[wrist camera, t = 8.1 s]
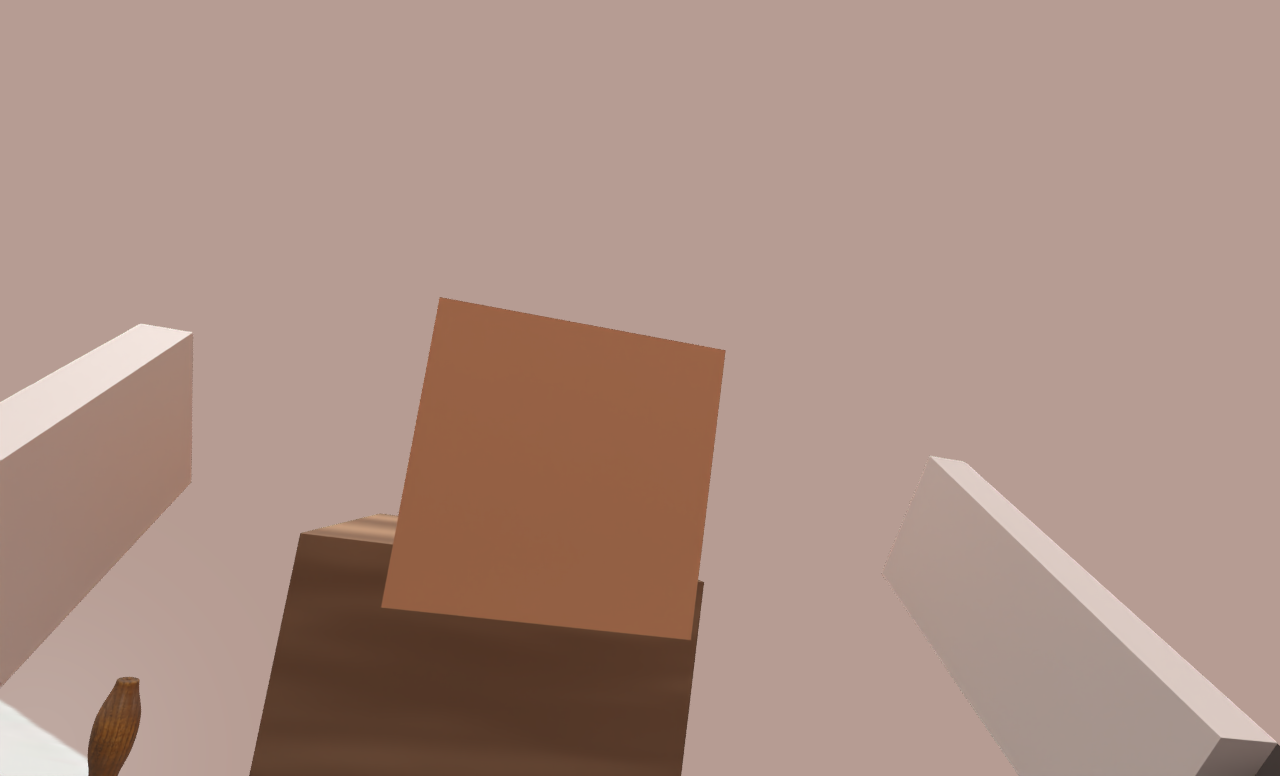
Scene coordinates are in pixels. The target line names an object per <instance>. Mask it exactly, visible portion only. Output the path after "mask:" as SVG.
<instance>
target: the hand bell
mask: <svg viewBox="0 0 1280 776" xmlns="http://www.w3.org/2000/svg"><path fill="white" fill-rule="evenodd" d="M140 717H141V703H140V695H139V679H138V678H134V677H123V678H119V679H118V680H117V681H116V684H115V686H114V688H113V689H112V691H111V693H110V694H109V696H108V697H107V699H106V700H105V702H104V703H103V705H102V707H101V708H100V710H99V712H98V714H97V716H96V719H95V721H94V724H93V728H92V731H91V736H90V741H89V747H88V767H89V776H118V773H119V771H120V769H121V767H122V766H123V764H124V762H125V761H126V759H127V757H128V755H129V753H130V751H131V749H132V746H133V743H134V741H135V738H136V735H137V732H138V728H139V723H140Z"/></svg>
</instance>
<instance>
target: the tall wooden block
mask: <svg viewBox="0 0 1280 776" xmlns="http://www.w3.org/2000/svg"><path fill="white" fill-rule="evenodd" d="M397 521H398V516H395V515H387V514H376V515H372V516H368V517H364V518H360V519H356V520H353V521H348V522H344V523H340V524H336V525H332V526H328V527H323V528H320V529H315V530H312V531H308V532H303V533H301V534H300V538H299V542H298V547H297V552H296V557H295V562H294V566H293V571H292V576H291V580H290V585H289V590H288V595H287V600H286V605H285V609H284V614H283V619H282V623H281V628H280V633H279V637H278V642H277V647H276V652H275V656H274V661H273V666H272V671H271V675H270V680H269V685H268V690H267V695H266V699H265V704H264V709H263V714H262V719H261V723H260V728H259V733H258V737H257V742H256V747H255V751H254V756H253V761H252V766H251V770H250V775H249V776H681V771H682V763H683V755H684V746H685V738H686V729H687V721H688V713H689V704H690V695H691V687H692V679H693V670H694V662H695V653H696V645H697V636H698V628H699V620H700V611H701V603H702V594H703V586H704V582H702V581H700V580H698V584H697V593H696V601H695V609H694V618H693V626H692V634H691V640H685V639H676V638H666V637H657V636H647V635H638V634H628V633H619V632H609V631H600V630H590V629H581V628H571V627H562V626H552V625H543V624H533V623H524V622H514V621H504V620H495V619H485V618H476V617H466V616H457V615H447V614H438V613H428V612H419V611H409V610H400V609H390V608H381V605H382V600H383V595H384V589H385V584H386V579H387V574H388V568H389V563H390V558H391V552H392V547H393V542H394V537H395V531H396V526H397Z"/></svg>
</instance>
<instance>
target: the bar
mask: <svg viewBox="0 0 1280 776" xmlns="http://www.w3.org/2000/svg"><path fill="white" fill-rule="evenodd" d="M724 359H725V350H721V349H715V348H710V347H704V346H699V345H694V344H689V343H683V342H678V341H672V340H667V339H661V338H655V337H651V336H646V335H640V334H635V333H629V332H624V331H619V330H613V329H608V328H603V327H597V326H592V325H586V324H581V323H576V322H570V321H565V320H560V319H554V318H549V317H543V316H538V315H532V314H527V313H522V312H516V311H511V310H506V309H501V308H495V307H489V306H484V305H479V304H474V303H468V302H463V301H458V300H451V299H447V298H441V297H440V299H439V305H438V309H437V315H436V320H435V325H434V331H433V336H432V342H431V346H430V352H429V357H428V363H427V368H426V373H425V378H424V383H423V389H422V394H421V399H420V405H419V410H418V415H417V420H416V426H415V431H414V437H413V442H412V447H411V452H410V458H409V463H408V468H407V473H406V479H405V484H404V489H403V494H402V500H401V505H400V510H399V515H398V521H397V526H396V531H395V537H394V542H393V547H392V552H391V558H390V563H389V568H388V574H387V579H386V584H385V589H384V595H383V600H382V605H381V608H390V609H400V610H409V611H419V612H428V613H438V614H447V615H457V616H466V617H476V618H485V619H495V620H504V621H514V622H524V623H533V624H543V625H552V626H562V627H571V628H581V629H590V630H600V631H609V632H619V633H628V634H638V635H647V636H657V637H666V638H676V639H685V640H691V634H692V626H693V618H694V609H695V601H696V593H697V584H698V576H699V567H700V559H701V551H702V543H703V534H704V526H705V518H706V509H707V501H708V492H709V483H710V475H711V467H712V458H713V451H714V441H715V434H716V426H717V417H718V409H719V400H720V392H721V384H722V375H723V367H724Z"/></svg>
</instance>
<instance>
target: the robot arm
mask: <svg viewBox="0 0 1280 776" xmlns="http://www.w3.org/2000/svg"><path fill="white" fill-rule="evenodd" d="M192 363H193V332H187V331H182V330H176V329H170V328H164V327H158V326H151V325H146V324H139V325H137V326H135V327H134V328H132V329H130V330H128V331H126V332H124V333H123V334H121V335H119V336H117V337H116V338H114V339H112V340H110V341H108V342H107V343H105V344H103V345H101V346H100V347H98V348H96V349H94V350H92V351H91V352H89V353H87V354H85V355H83V356H82V357H80V358H78V359H76V360H75V361H73V362H71V363H69V364H67V365H66V366H64V367H62V368H60V369H59V370H57V371H55V372H53V373H51V374H50V375H48V376H46V377H44V378H42V379H41V380H39V381H37V382H35V383H34V384H32V385H30V386H28V387H26V388H25V389H23V390H21V391H19V392H18V393H16V394H14V395H12V396H10V397H9V398H7V399H5V400H4V401H2V402H0V688H1V687H2V686H3V685H4V683H6V681H7V680H8V679H9V678H10V677H11V676H12V675H13V674H14V673H15V672H16V671H17V670H18V668H19V667H20V666H21V665H22V664H23V663H24V662H25V661H26V660H27V659H28V658H29V656H31V654H32V653H33V652H34V651H35V650H36V649H37V648H38V647H39V646H40V645H41V644H42V643H43V642H44V640H45V639H46V638H47V637H48V636H49V635H50V634H51V633H52V632H53V631H54V630H55V628H56V627H57V626H58V625H59V624H60V623H61V622H62V621H63V620H64V619H65V618H66V616H68V615H69V613H70V612H71V611H72V610H73V609H74V608H75V607H76V606H77V605H78V604H79V603H80V602H81V600H82V599H83V598H84V597H85V596H86V595H87V594H88V593H89V592H90V591H91V590H92V589H93V588H94V586H95V585H96V584H97V583H98V582H99V581H100V580H101V579H102V578H103V577H104V576H105V575H106V574H107V573H108V571H109V570H110V569H111V568H112V567H113V566H114V565H115V564H116V563H117V562H118V561H119V560H120V559H121V557H122V556H123V555H124V554H125V553H126V552H127V551H128V550H129V549H130V548H131V547H132V546H133V544H134V543H135V542H136V541H137V540H138V539H139V538H140V537H141V536H142V535H143V534H144V533H145V532H146V531H147V529H148V528H149V527H150V526H151V525H152V524H153V523H154V522H155V521H156V520H157V519H158V518H159V516H160V515H161V514H162V513H163V512H164V511H165V510H166V509H167V508H168V507H169V506H170V505H171V504H172V502H173V501H174V500H175V499H176V498H177V497H178V496H179V495H180V494H181V493H182V492H183V491H184V490H185V488H186V487H187V486H188V485H189V484H190V483H191V463H192V461H191V460H192V454H191V453H192V371H193V370H192V368H193V364H192ZM881 574H882V575H883V577H884V578H885V580H886V581H887V583H888V584H889V586H890V587H891V588H892V590H893V592H894V593H895V594H896V596H897V597H898V599H899V600H900V602H901V603H902V605H903V606H904V608H905V609H906V611H907V612H908V614H909V615H910V616H911V618H912V619H913V621H914V622H915V624H916V625H917V627H918V628H919V630H920V631H921V633H922V634H923V635H924V637H925V639H926V640H927V641H928V642H929V644H930V646H931V647H932V649H933V650H934V652H935V653H936V655H937V656H938V658H939V659H940V660H941V662H942V663H943V665H944V666H945V668H946V669H947V671H948V672H949V674H950V675H951V677H952V678H953V679H954V681H955V682H956V684H957V685H958V687H959V688H960V690H961V691H962V693H963V694H964V696H965V697H966V699H967V700H968V702H969V703H970V705H971V706H972V707H973V709H974V710H975V712H976V713H977V715H978V716H979V718H980V719H981V721H982V722H983V724H984V725H985V726H986V728H987V729H988V731H989V733H990V734H991V735H992V737H993V738H994V740H995V741H996V743H997V744H998V746H999V747H1000V749H1001V750H1002V752H1003V753H1004V754H1005V756H1006V757H1007V759H1008V760H1009V762H1010V763H1011V765H1012V766H1013V768H1014V769H1015V771H1016V772H1017V774H1018V775H1019V776H1280V746H1279V745H1278V744H1277V742H1276V741H1275V740H1274V739H1273V738H1272V737H1271V736H1269V735H1268V734H1267V733H1266V732H1265V731H1264V730H1263V729H1262V728H1260V727H1259V726H1258V725H1257V724H1256V723H1255V722H1254V721H1253V720H1252V719H1250V718H1249V717H1248V716H1247V715H1246V714H1245V713H1244V712H1243V711H1242V710H1241V709H1239V708H1238V707H1237V706H1236V705H1235V704H1234V703H1233V702H1232V701H1231V700H1229V699H1228V698H1227V697H1226V696H1225V695H1224V694H1223V693H1222V692H1220V691H1219V690H1218V689H1217V688H1216V687H1215V686H1214V685H1213V684H1212V683H1210V682H1209V681H1208V680H1207V679H1206V678H1205V677H1204V676H1203V675H1201V674H1200V673H1199V672H1198V671H1197V670H1196V669H1195V668H1194V667H1193V666H1192V665H1190V664H1189V663H1188V662H1187V661H1186V660H1185V659H1184V658H1182V656H1180V655H1179V654H1178V653H1177V652H1176V651H1175V650H1174V649H1172V648H1171V647H1170V646H1169V645H1168V644H1167V643H1166V642H1165V641H1164V640H1163V639H1162V638H1160V637H1159V636H1158V635H1157V634H1156V633H1155V632H1154V631H1153V630H1151V629H1150V628H1149V627H1148V626H1147V625H1146V624H1145V623H1144V622H1143V621H1142V620H1140V619H1139V618H1138V617H1137V616H1136V615H1135V614H1134V613H1133V612H1131V611H1130V610H1129V609H1128V608H1127V607H1126V606H1125V605H1124V604H1123V603H1121V602H1120V601H1119V600H1118V599H1117V598H1116V597H1115V596H1114V595H1113V594H1111V593H1110V592H1109V591H1108V590H1107V589H1106V588H1105V587H1104V586H1102V585H1101V584H1100V583H1099V582H1098V581H1097V580H1096V579H1095V578H1094V577H1093V576H1091V575H1090V574H1089V573H1088V572H1087V571H1086V570H1085V569H1084V568H1083V567H1081V566H1080V565H1079V564H1078V563H1077V562H1076V561H1075V560H1074V559H1073V558H1071V557H1070V556H1069V555H1068V554H1067V553H1066V552H1065V551H1064V550H1062V549H1061V548H1060V547H1059V546H1058V545H1057V544H1056V543H1055V542H1054V541H1052V540H1051V539H1050V538H1049V537H1048V536H1047V535H1046V534H1044V532H1042V531H1041V530H1040V529H1039V528H1038V527H1037V526H1036V525H1035V524H1034V523H1032V522H1031V521H1030V520H1029V519H1028V518H1027V517H1026V516H1025V515H1024V514H1022V513H1021V512H1020V511H1019V510H1018V509H1017V508H1016V507H1015V506H1014V505H1012V504H1011V503H1010V502H1009V501H1008V500H1007V499H1006V498H1005V497H1004V496H1002V495H1001V494H1000V493H999V492H998V491H997V490H995V488H993V487H992V486H991V485H990V484H989V483H988V482H987V481H986V480H985V479H983V478H982V477H981V476H980V475H979V474H978V473H977V472H976V471H974V470H973V469H972V468H971V467H970V466H969V465H968V464H967V463H966V462H964V461H957V460H952V459H945V458H939V457H934V456H929V459H928V461H927V463H926V466H925V468H924V471H923V473H922V475H921V478H920V480H919V483H918V485H917V488H916V490H915V493H914V495H913V497H912V500H911V502H910V505H909V507H908V510H907V512H906V514H905V517H904V519H903V522H902V524H901V527H900V529H899V532H898V534H897V536H896V539H895V541H894V544H893V546H892V549H891V551H890V553H889V556H888V558H887V561H886V564H885V566H884V568H883V571H882V573H881Z"/></svg>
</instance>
